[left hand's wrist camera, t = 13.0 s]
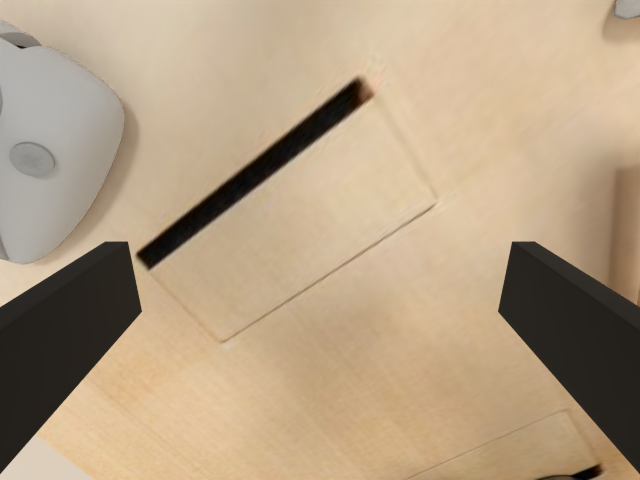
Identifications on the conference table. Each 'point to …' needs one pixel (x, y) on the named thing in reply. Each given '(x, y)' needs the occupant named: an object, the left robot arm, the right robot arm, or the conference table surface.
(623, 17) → the fish
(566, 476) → the right robot arm
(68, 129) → the projector
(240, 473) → the conference table surface
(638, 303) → the bar
